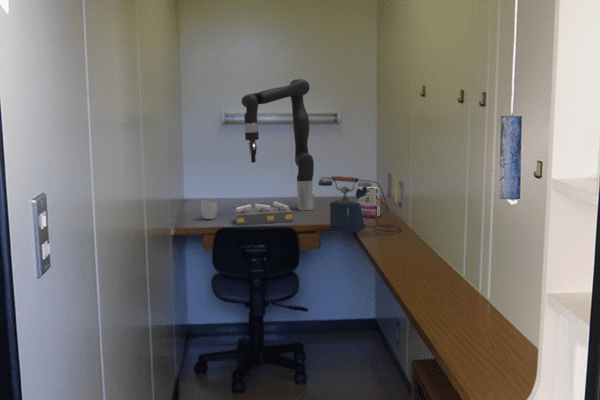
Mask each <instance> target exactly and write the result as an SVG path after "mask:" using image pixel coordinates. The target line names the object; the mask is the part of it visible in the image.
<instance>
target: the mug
mask: <svg viewBox="0 0 600 400" xmlns="http://www.w3.org/2000/svg"><path fill="white" fill-rule="evenodd" d="M200 209H201V215H202V218H203V217H204V218H215V217H216V218H217V214H218V202H217V200H216V199H204V200H201V201H200ZM204 218H203V219H204ZM216 218H215V219H216Z"/></svg>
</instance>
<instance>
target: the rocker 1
mask: <svg viewBox="0 0 600 400" xmlns="http://www.w3.org/2000/svg"><path fill="white" fill-rule="evenodd" d="M245 208H246V209H247V210H248V209H253V207H252V205H251V203H250V204H246V205H242V206H238V207H236V208H235V210H237V212H240V211H243V209H245Z"/></svg>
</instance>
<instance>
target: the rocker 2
mask: <svg viewBox="0 0 600 400" xmlns="http://www.w3.org/2000/svg"><path fill="white" fill-rule="evenodd" d="M272 205H273V206H275V207H280V206H283V208H284V209H286V210H288V208H289V209H290V207H289V206H288V205H285V204H284V203H280V202H278V201H275V200H274V201H273V204H272Z"/></svg>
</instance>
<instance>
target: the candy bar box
mask: <svg viewBox="0 0 600 400" xmlns="http://www.w3.org/2000/svg"><path fill="white" fill-rule="evenodd" d="M380 187H381V186H380ZM380 187H379V186H371V187H367V193H366V195H365V196H363V197H360V198H359V199H357V200H358V201H357V202H360V206H361V211H362V216H363V218H372V219H373V218H375V219H376V217H377V218H379V217H380V216H379V215H381V202H380V201H381V189H380ZM357 189H360V190H363V187H359V186H358V188H357ZM378 216H379V217H378Z"/></svg>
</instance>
